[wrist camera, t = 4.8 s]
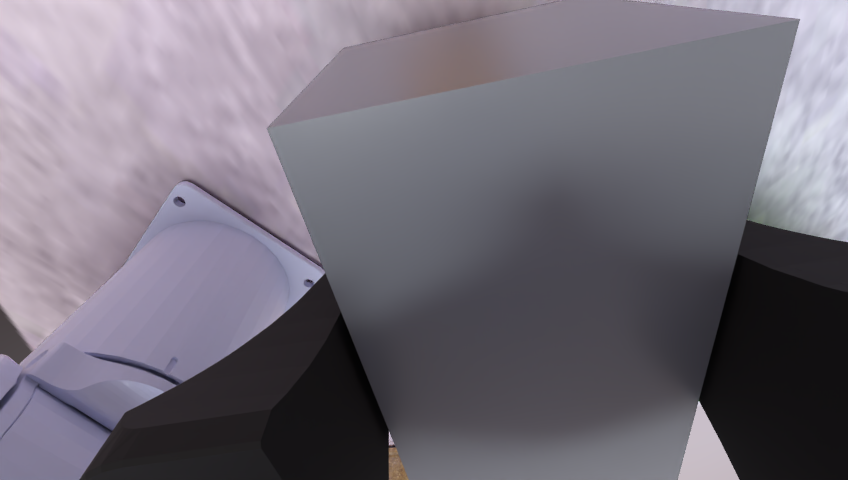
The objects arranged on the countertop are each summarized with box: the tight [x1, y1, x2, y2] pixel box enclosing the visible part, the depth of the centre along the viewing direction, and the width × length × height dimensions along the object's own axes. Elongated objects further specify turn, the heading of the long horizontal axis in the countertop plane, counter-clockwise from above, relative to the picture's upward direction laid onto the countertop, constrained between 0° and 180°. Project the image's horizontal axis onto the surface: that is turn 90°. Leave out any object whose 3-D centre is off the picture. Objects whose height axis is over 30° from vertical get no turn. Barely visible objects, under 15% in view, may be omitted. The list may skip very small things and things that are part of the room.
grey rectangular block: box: [267, 0, 800, 480], centre depth 10 cm, size 11×6×7 cm, turn 11°
